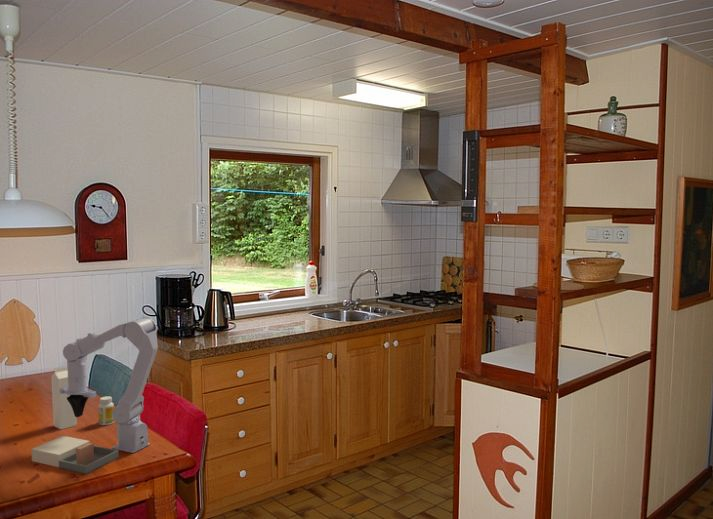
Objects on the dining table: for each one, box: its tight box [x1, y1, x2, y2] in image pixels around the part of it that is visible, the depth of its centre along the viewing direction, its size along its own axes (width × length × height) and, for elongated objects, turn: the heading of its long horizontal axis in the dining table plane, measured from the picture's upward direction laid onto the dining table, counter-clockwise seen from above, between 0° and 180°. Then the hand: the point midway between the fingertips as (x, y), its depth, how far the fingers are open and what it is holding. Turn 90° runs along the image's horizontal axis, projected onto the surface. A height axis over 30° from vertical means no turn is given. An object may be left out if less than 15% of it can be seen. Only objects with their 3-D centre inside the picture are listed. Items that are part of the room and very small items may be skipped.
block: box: [76, 442, 94, 465], centre depth 191 cm, size 5×5×2 cm
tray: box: [58, 445, 120, 475], centre depth 191 cm, size 11×13×2 cm
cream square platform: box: [30, 435, 91, 468], centre depth 195 cm, size 12×12×4 cm
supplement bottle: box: [97, 395, 115, 426], centre depth 225 cm, size 5×5×10 cm
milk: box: [50, 365, 78, 430], centre depth 222 cm, size 6×6×22 cm
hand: (78, 416), depth 206 cm, fingers closed
